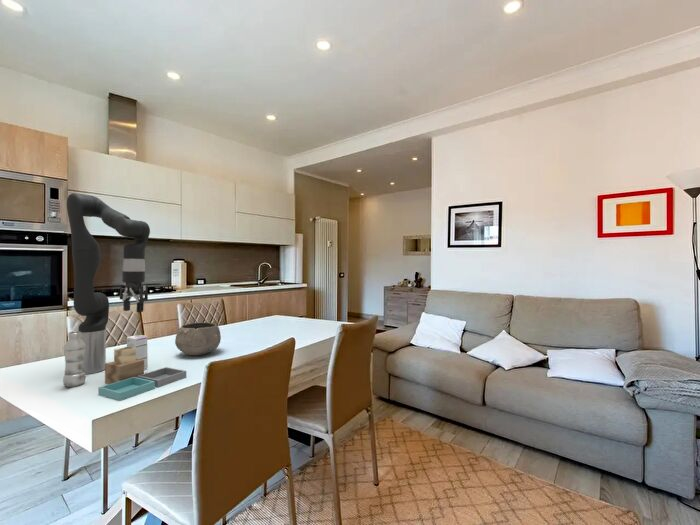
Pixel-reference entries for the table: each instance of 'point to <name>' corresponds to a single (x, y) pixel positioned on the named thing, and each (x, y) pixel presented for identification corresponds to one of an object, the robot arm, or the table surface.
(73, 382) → the plastic bottle
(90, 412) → the table surface
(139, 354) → the syrup box
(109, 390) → the teal bin
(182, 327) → the clay pot
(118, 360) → the letter cube
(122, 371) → the walnut stand
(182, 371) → the gray bin
